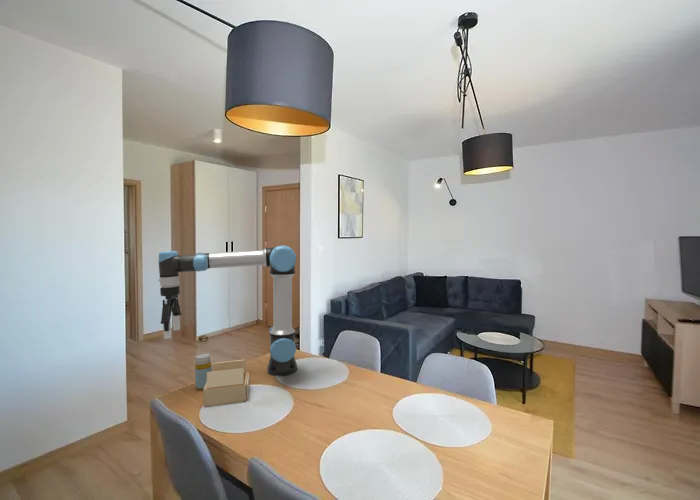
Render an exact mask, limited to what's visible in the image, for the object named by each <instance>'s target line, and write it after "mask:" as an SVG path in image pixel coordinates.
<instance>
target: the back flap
mask: <svg viewBox="0 0 700 500" xmlns="http://www.w3.org/2000/svg"><path fill="white" fill-rule="evenodd" d="M246 367H247V366H246V360H245V359H239V360H228V361H219V362H211V368H212V371H221V370H230V369H239V368H243V373H247V372H246V371H247V370H246V369H247V368H246Z"/></svg>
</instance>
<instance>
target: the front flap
mask: <svg viewBox="0 0 700 500" xmlns="http://www.w3.org/2000/svg"><path fill="white" fill-rule="evenodd" d="M243 373H244V372H243V368H239V369H230V370H221V371H212V372H207V388H211V387H220V386H228V385H236V384H244V380H243Z"/></svg>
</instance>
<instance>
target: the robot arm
mask: <svg viewBox="0 0 700 500" xmlns="http://www.w3.org/2000/svg"><path fill="white" fill-rule="evenodd" d="M296 261H297V255H296V252H295V251H294V250H293V248H292V247H290V246H288V245H283V244H282V245H277V246H272V247H265V248H263V249H259V250H258V249H257V250H244V251H243V250H239V251H222V252H219V251H218V252H206V253H205V252H204V253H202V252H201V253H200V252H199V253H195V254H183V255H182V254H181V255H180V254H178V251H176V250H170V251H167V250H166V251H164V250H163V251H160V252H159V253H158V272H159V274H158V275H159V279H158V282H159V287H160V288H159V291H160V296H161V297H164V298H165V299H162V311H161V319H160V324H161V325H162V327H163V339H164V340H166V339H167V340H169V339H172V329H173V331H180V330H181V321H180V316H182V312H181V307H180V302H179V297H178V296H179V295H180V293H181V292H180V286H179V285H180V273H185V272H186V273H187V272H198V273H199V272H205V271H208V270H209V269H221V268H238V267H241V268H242V267H254V266H264V267H265V268H269V274H270V276H271V277H272V278H273V279H272V281H273V289H272V290H273V291H272V292H273V296H272V297H273V305H272V306H273V310H272V311H273V315H272V316H273V318H272V319H273V322H272V323H273V324H272V325H273V326H271V327H270V328H269V355H270V357H269V361H268V364H267V368H266V369H267V374H269V375H271V376H274V377H275V376H276V377H281V376H282V377H283V376H288V375H292V374H294V373H295V372H297V370H298V364H297V361H296V358H295V354H296V351H297V346H296V331H295V330H296V329H294V327H293V326H292V325H293V324H292V323H293V315H292V314H293V305H292V304H293V301H292V300H293V299H292V298H293V296H292V295H293V293H292V292H293V282H292V280H293V277H294V276H295V274H296ZM172 315H173V316H172ZM171 316H172V323H171Z"/></svg>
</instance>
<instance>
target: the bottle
mask: <svg viewBox="0 0 700 500" xmlns="http://www.w3.org/2000/svg"><path fill="white" fill-rule="evenodd" d="M211 363H212V362H211V353H207V352H205V353H199V354H197V355H196V356H195V366H194V370H195V371H194V372H195V373H194V374H195V389H196V390H197V391H203V389H204V387H205V385H206V382H207V372H212V368H211Z"/></svg>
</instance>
